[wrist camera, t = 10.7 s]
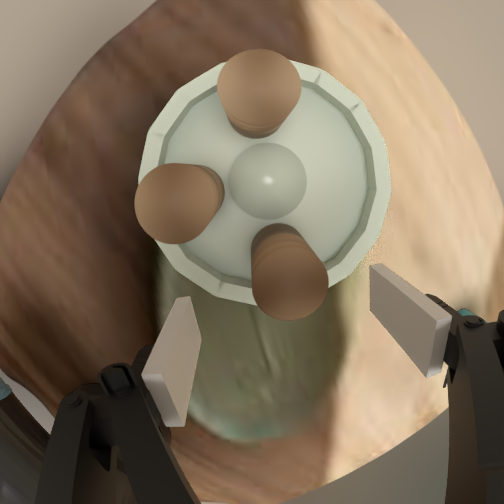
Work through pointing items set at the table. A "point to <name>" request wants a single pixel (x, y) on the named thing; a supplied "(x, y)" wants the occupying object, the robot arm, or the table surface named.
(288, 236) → the brown stubby piece
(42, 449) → the robot arm
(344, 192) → the tray
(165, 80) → the table surface
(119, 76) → the table surface
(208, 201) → the brown rounded cylinder
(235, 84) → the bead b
